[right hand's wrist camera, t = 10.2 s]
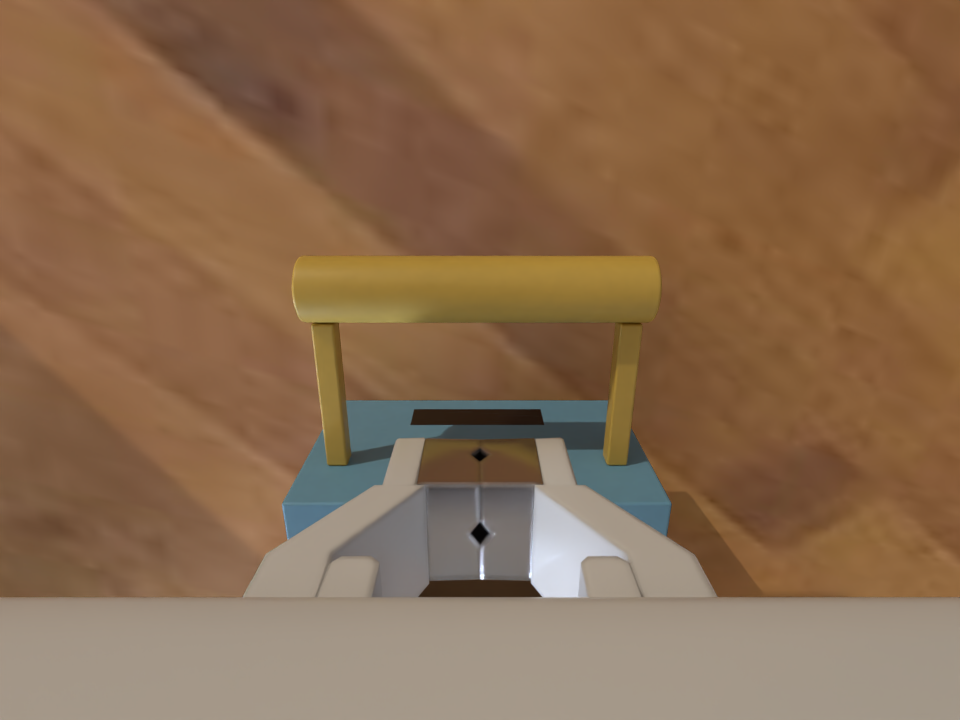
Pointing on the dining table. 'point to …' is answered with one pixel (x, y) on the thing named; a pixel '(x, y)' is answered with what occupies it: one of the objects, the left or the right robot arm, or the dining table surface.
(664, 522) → the drawer
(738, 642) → the right robot arm
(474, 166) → the dining table surface
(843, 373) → the dining table surface
